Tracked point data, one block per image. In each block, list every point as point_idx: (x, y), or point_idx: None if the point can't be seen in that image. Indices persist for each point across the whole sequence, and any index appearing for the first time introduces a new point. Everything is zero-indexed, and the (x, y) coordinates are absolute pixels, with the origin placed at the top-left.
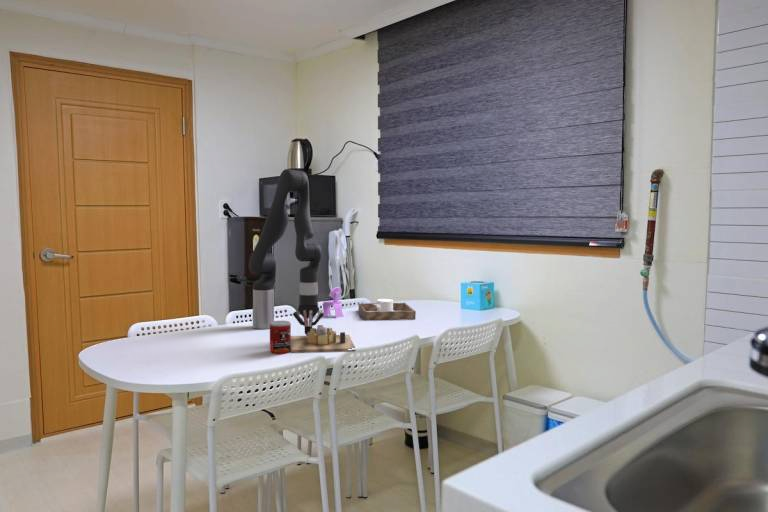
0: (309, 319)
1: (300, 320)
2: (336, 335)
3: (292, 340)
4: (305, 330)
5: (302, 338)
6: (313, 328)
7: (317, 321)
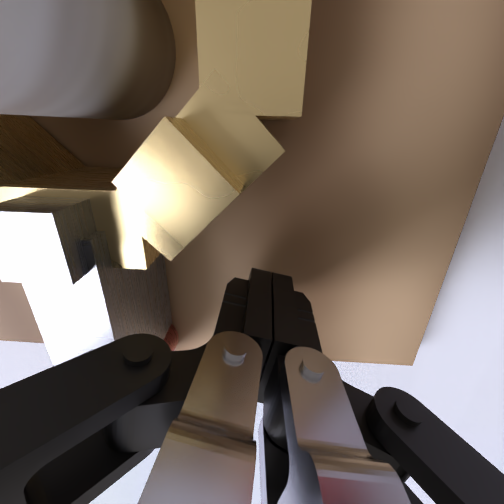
0: (233, 479)
1: (471, 497)
2: (17, 325)
3: (461, 182)
4: (304, 321)
5: (327, 261)
6: (174, 207)
7: (28, 390)
